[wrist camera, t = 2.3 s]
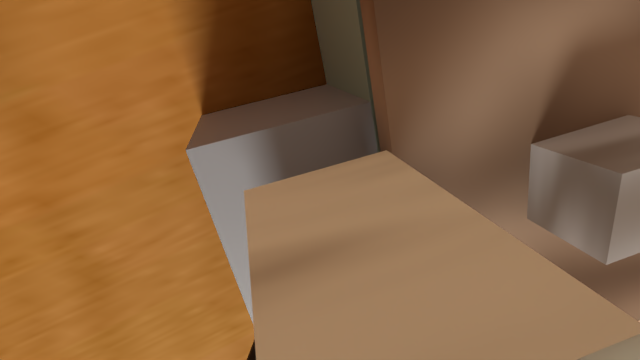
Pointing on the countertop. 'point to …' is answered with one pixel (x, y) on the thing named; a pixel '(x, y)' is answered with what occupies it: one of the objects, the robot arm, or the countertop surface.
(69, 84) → the countertop surface
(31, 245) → the countertop surface
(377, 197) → the block
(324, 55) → the grey tray
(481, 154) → the lid
